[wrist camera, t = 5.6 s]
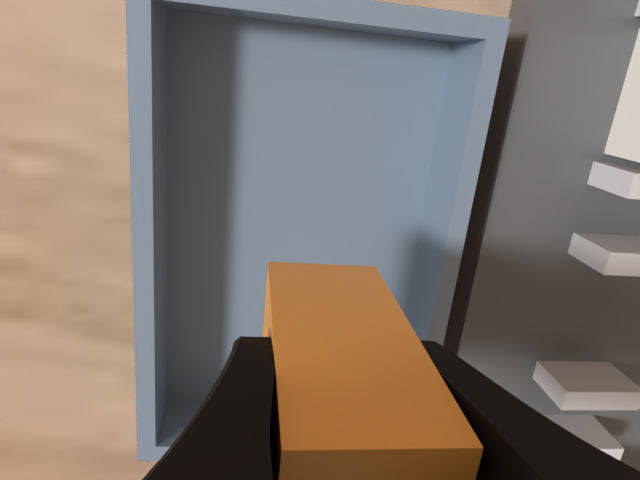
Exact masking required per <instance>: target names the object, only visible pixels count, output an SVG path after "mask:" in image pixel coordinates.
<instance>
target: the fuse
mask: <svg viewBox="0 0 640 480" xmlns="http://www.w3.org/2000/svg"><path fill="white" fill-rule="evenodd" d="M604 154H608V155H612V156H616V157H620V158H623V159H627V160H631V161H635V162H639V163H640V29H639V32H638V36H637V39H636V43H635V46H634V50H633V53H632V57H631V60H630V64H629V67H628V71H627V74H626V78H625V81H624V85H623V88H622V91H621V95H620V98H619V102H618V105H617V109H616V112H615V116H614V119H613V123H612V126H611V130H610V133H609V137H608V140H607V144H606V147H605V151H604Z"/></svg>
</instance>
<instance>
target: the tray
mask: <svg viewBox="0 0 640 480" xmlns="http://www.w3.org/2000/svg"><path fill="white" fill-rule="evenodd" d="M510 21H511V18H503V17H495V16H488V15H480V14H472V13H464V12H457V11H449V10H441V9H433V8H426V7H418V6H410V5H402V4H395V3H387V2H379V1H372V0H126V24H127V63H128V102H129V141H130V180H131V220H132V259H133V298H134V337H135V376H136V415H137V455H138V461H159V460H160V459H161V457H162V456H163V455H164V454H165V453H166V451H167V450H168V449H169V448H170V447H171V445H172V444H173V443H174V442H175V440H176V439H177V438H178V436H179V435H180V434H181V432H182V431H183V430H184V428H185V427H186V425H187V424H188V423H189V421H190V420H191V419H192V417H193V416H194V414H195V413H196V412H197V410H198V409H199V408H200V406H201V405H202V403H203V402H204V400H205V398H206V397H207V395H208V394H209V392H210V390H211V389H212V387H213V385H214V384H215V382H216V380H217V379H218V377H219V375H220V373H221V372H222V370H223V368H224V366H225V364H226V362H227V360H228V358H229V355H230V353H231V350H232V347H233V343H234V341H235V340H236V339H238V338H239V337H240V336H246V337H263V324H264V310H265V295H266V281H267V267H268V262H290V263H312V264H334V265H356V266H376V267H377V269H378V271H379V272H380V274H381V276H382V278H383V279H384V281H385V283H386V284H387V286H388V288H389V289H390V291H391V293H392V294H393V296H394V298H395V299H396V301H397V303H398V304H399V306H400V308H401V310H402V311H403V313H404V315H405V316H406V318H407V320H408V321H409V323H410V325H411V326H412V328H413V330H414V331H415V333H416V335H417V336H418V338H419V340H426V341H435V342H437V343H438V344H440V345H442V346H443V344H444V339H445V334H446V329H447V324H448V320H449V315H450V310H451V305H452V300H453V296H454V291H455V286H456V281H457V276H458V271H459V267H460V262H461V257H462V252H463V247H464V243H465V238H466V233H467V228H468V223H469V218H470V214H471V209H472V204H473V199H474V194H475V190H476V185H477V180H478V175H479V170H480V166H481V161H482V156H483V151H484V146H485V141H486V137H487V132H488V127H489V122H490V117H491V113H492V108H493V103H494V98H495V93H496V88H497V84H498V79H499V74H500V69H501V64H502V60H503V55H504V50H505V45H506V40H507V35H508V31H509V26H510Z"/></svg>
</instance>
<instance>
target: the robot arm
mask: <svg viewBox="0 0 640 480" xmlns="http://www.w3.org/2000/svg"><path fill="white" fill-rule="evenodd" d="M420 342H421V343H422V345H423V347H424V348H425V350H426V352H427V353H428V355H429V357H430V358H431V360H432V362H433V363H434V365H435V367H436V368H437V370H438V372H439V374H440V375H441V377H442V379H443V380H444V382H445V384H446V385H447V387H448V389H449V390H450V392H451V394H452V395H453V397H454V399H455V400H456V402H457V404H458V406H459V407H460V409H461V411H462V412H463V414H464V416H465V417H466V419H467V421H468V422H469V424H470V426H471V427H472V429H473V431H474V432H475V434H476V436H477V438H478V439H479V441H480V443H481V444H482V446H483V448H484V449H483V453H482V456H481V460H480V464H479V468H478V472H477V476H476V480H640V471H638V470H636V469H634V468H633V467H631V466H629V465H627V464H625V463H623V462H622V461H620V460H618V459H616V458H614V457H612V456H611V455H609V454H607V453H605V452H603V451H601V450H600V449H598V448H596V447H594V446H593V445H591V444H589V443H587V442H586V441H584V440H582V439H581V438H579V437H577V436H576V435H574V434H572V433H571V432H569V431H568V430H566V429H564V428H563V427H561V426H560V425H558V424H556V423H555V422H553V421H552V420H550V419H548V418H547V417H545V416H544V415H542V414H541V413H539V412H538V411H536V410H535V409H533V408H531V407H530V406H528V405H527V404H525V403H524V402H522V401H521V400H520V399H518V398H517V397H515V396H514V395H512V394H511V393H509V392H508V391H506V390H505V389H504V388H502V387H501V386H499V385H498V384H496V383H495V382H494V381H492V380H491V379H489V378H488V377H487V376H485V375H484V374H482V373H481V372H480V371H478V370H477V369H475V368H474V367H473V366H471V365H470V364H468V363H467V362H465V361H464V360H463V359H461V358H460V357H458V356H457V355H455V354H454V353H453V352H451V351H450V350H448V349H447V348H445V347H443V346H442V345H440V344H438V343H437V342H435V341H426V340H420ZM274 371H275V361H274V353H273V347H272V341H271V337H246V336H240V337H239V338H238V339H236V340H235V341H234V343H233V347H232V350H231V353H230V355H229V358H228V360H227V362H226V364H225V366H224V368H223V370H222V372H221V373H220V375H219V377H218V379H217V380H216V382H215V384H214V385H213V387H212V389H211V390H210V392H209V394H208V395H207V397H206V398H205V400H204V402H203V403H202V405H201V406H200V408H199V409H198V410H197V412H196V413H195V414H194V416H193V417H192V419H191V420H190V421H189V423H188V424H187V425H186V427H185V428H184V430H183V431H182V432H181V434H180V435H179V436H178V438H177V439H176V440H175V442H174V443H173V444H172V445H171V447H170V448H169V449H168V450H167V451H166V453H165V454H164V455H163V456H162V457H161V459H160V460H159V461H158V462H157V463H156V464H155V466H154V467H153V468H152V469H151V470H150V471H149V472H148V473H147V475H146V476H145V477H144V478H143V479H142V480H273V475H272V463H271V451H270V420H271V407H272V395H273V383H274Z"/></svg>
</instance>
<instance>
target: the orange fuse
mask: <svg viewBox="0 0 640 480" xmlns="http://www.w3.org/2000/svg"><path fill="white" fill-rule="evenodd" d="M263 337H271V341H272V347H273V353H274V361H275V371H274V383H273V395H272V407H271V420H270V451H271V463H272V475H273V480H476V476H477V472H478V468H479V464H480V460H481V456H482V453H483V449H484V448H483V446H482V444H481V443H480V441H479V439H478V438H477V436H476V434H475V432H474V431H473V429H472V427H471V426H470V424H469V422H468V421H467V419H466V417H465V416H464V414H463V412H462V411H461V409H460V407H459V406H458V404H457V402H456V400H455V399H454V397H453V395H452V394H451V392H450V390H449V389H448V387H447V385H446V384H445V382H444V380H443V379H442V377H441V375H440V374H439V372H438V370H437V368H436V367H435V365H434V363H433V362H432V360H431V358H430V357H429V355H428V353H427V352H426V350H425V348H424V347H423V345H422V343H421V342H420V340H419V338H418V336H417V335H416V333H415V331H414V330H413V328H412V326H411V325H410V323H409V321H408V320H407V318H406V316H405V315H404V313H403V311H402V310H401V308H400V306H399V304H398V303H397V301H396V299H395V298H394V296H393V294H392V293H391V291H390V289H389V288H388V286H387V284H386V283H385V281H384V279H383V278H382V276H381V274H380V272H379V271H378V269H377V267H376V266H356V265H334V264H312V263H290V262H268V267H267V281H266V295H265V310H264V324H263Z"/></svg>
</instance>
